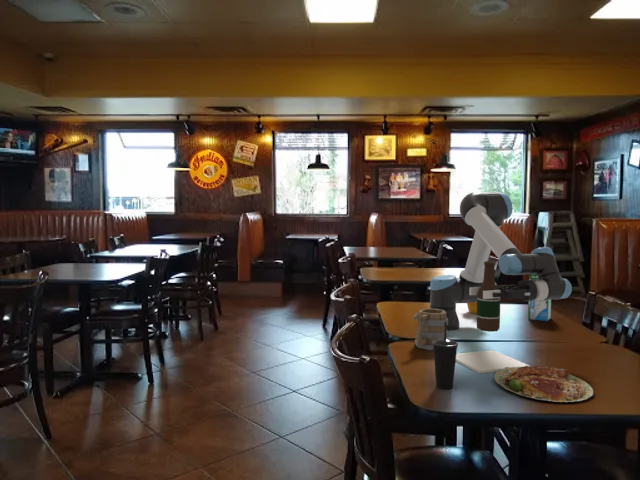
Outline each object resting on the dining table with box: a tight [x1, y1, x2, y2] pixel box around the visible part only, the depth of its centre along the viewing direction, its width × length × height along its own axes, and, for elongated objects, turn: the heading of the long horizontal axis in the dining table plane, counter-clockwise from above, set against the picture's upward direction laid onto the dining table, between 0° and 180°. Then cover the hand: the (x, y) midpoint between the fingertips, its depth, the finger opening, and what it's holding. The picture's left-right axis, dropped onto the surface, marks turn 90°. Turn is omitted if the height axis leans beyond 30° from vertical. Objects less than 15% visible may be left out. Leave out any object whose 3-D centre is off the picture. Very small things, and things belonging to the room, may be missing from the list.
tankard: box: [412, 308, 449, 351], centre depth 197 cm, size 20×13×15 cm, turn 134°
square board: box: [455, 349, 531, 374], centre depth 179 cm, size 20×20×1 cm
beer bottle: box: [476, 260, 501, 333], centre depth 178 cm, size 8×8×24 cm
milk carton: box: [527, 274, 552, 322], centre depth 252 cm, size 9×9×25 cm
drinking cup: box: [432, 322, 459, 391], centre depth 153 cm, size 8×8×20 cm
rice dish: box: [494, 364, 595, 403], centre depth 154 cm, size 28×28×5 cm
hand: (476, 293), depth 176 cm, fingers closed on beer bottle, 7 cm apart
